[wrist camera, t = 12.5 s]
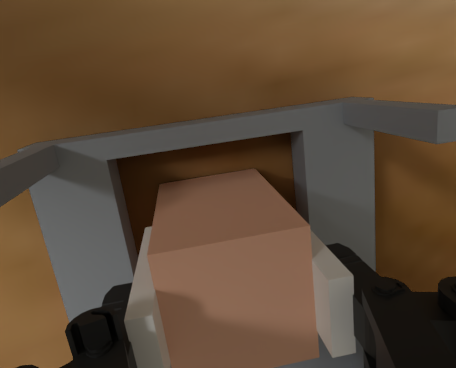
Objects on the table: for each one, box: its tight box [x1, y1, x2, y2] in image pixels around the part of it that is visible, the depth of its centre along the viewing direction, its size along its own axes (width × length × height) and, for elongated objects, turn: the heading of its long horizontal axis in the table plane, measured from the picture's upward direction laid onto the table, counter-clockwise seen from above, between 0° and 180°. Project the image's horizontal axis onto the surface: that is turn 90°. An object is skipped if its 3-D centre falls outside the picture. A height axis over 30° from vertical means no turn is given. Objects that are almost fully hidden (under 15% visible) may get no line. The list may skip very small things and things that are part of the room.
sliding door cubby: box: [0, 97, 456, 368], centre depth 16 cm, size 21×16×8 cm
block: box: [147, 168, 319, 368], centre depth 15 cm, size 5×5×8 cm
